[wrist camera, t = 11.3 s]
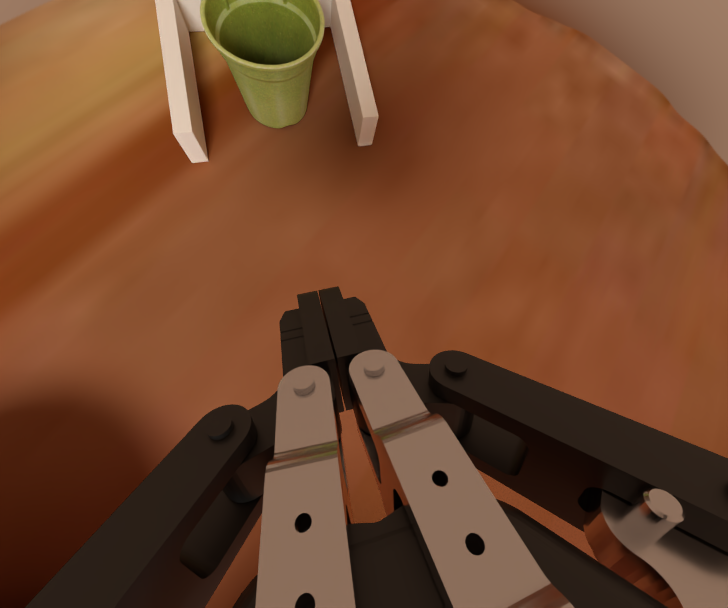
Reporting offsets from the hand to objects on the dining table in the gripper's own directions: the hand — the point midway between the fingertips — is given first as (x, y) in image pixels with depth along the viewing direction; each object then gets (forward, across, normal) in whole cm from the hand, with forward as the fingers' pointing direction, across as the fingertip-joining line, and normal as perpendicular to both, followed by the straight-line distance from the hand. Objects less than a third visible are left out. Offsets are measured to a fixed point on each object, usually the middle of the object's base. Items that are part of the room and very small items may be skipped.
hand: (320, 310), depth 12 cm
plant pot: (+30, -1, -5) cm, 31 cm away
